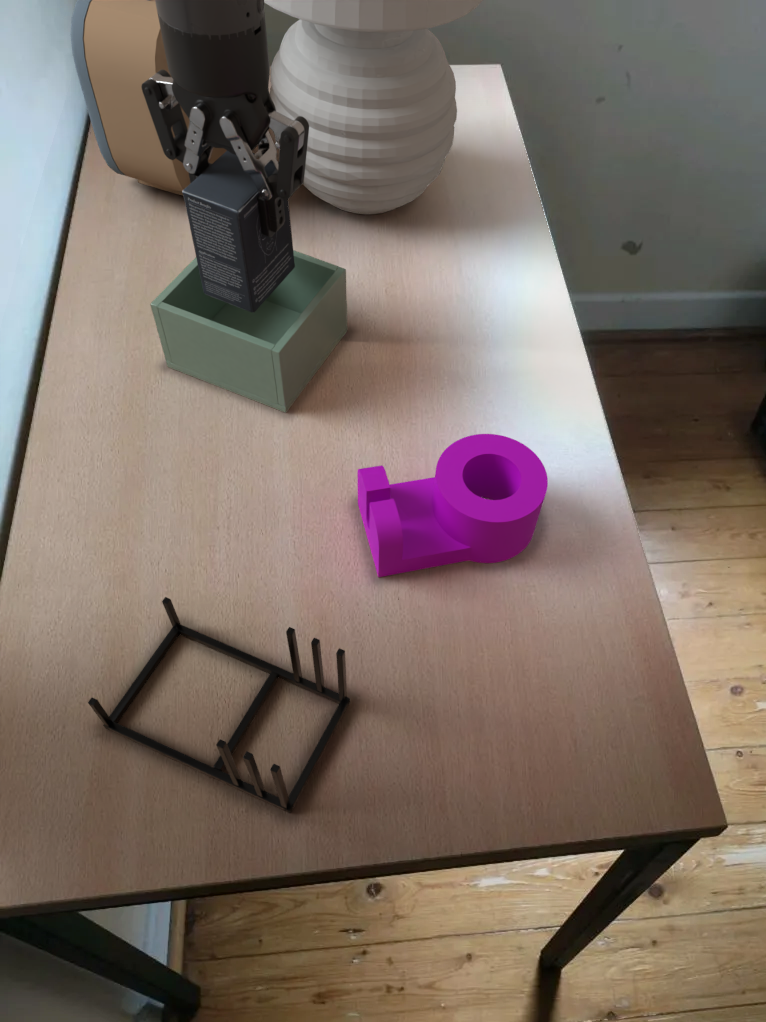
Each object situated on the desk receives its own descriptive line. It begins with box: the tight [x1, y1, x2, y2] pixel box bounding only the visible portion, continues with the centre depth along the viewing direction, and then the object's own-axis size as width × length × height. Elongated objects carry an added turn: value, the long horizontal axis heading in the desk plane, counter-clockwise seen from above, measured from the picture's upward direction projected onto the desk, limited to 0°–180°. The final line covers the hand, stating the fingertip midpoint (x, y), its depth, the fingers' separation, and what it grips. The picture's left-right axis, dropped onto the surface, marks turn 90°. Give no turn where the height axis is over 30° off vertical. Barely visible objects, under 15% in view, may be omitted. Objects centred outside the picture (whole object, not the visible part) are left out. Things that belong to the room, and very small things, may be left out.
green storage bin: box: [149, 249, 348, 414], centre depth 81 cm, size 14×14×8 cm
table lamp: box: [264, 0, 484, 215], centre depth 83 cm, size 25×25×40 cm
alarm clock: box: [70, 0, 227, 196], centre depth 90 cm, size 21×10×22 cm, turn 162°
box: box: [182, 151, 295, 313], centre depth 73 cm, size 8×6×11 cm
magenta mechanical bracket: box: [357, 433, 549, 578], centre depth 72 cm, size 16×10×6 cm, turn 106°
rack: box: [87, 596, 351, 814], centre depth 60 cm, size 16×10×9 cm, turn 67°
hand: (241, 219), depth 72 cm, fingers closed on box, 5 cm apart
